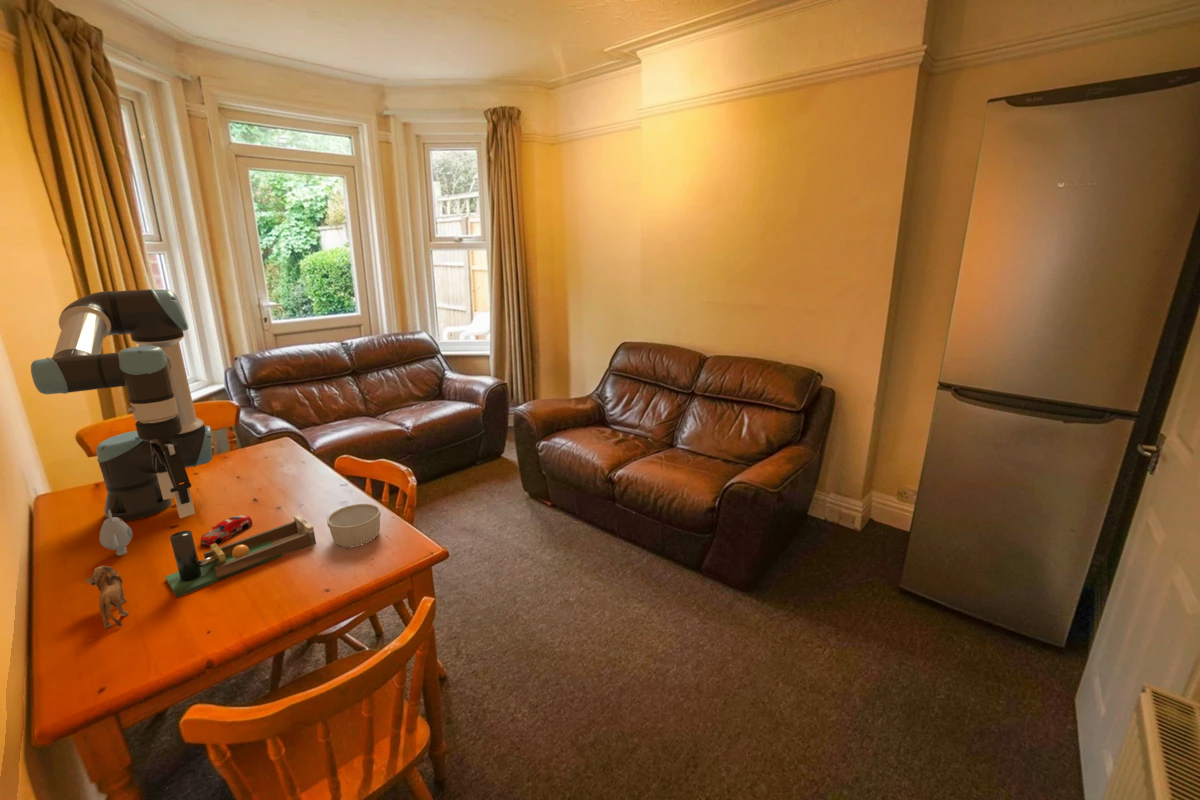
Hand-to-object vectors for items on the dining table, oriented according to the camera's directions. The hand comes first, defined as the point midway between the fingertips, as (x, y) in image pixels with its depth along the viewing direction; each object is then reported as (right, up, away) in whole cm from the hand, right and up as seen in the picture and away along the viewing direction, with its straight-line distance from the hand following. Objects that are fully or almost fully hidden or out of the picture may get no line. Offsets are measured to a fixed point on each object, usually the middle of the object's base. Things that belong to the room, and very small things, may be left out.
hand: (178, 506), depth 121 cm
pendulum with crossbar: (+1, -17, +6) cm, 18 cm away
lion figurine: (-10, -22, -6) cm, 25 cm away
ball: (+6, -14, +12) cm, 19 cm away
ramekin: (+30, -14, +24) cm, 41 cm away
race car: (-6, -13, +25) cm, 29 cm away
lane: (+7, -16, +13) cm, 22 cm away
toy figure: (-28, -15, +16) cm, 35 cm away
